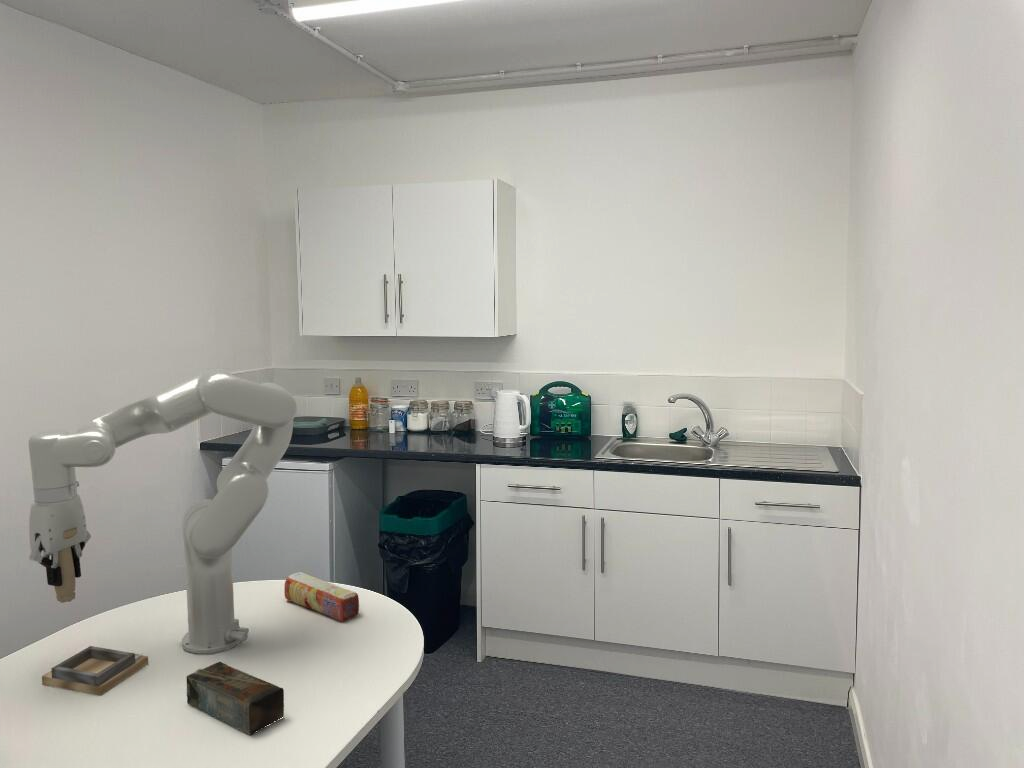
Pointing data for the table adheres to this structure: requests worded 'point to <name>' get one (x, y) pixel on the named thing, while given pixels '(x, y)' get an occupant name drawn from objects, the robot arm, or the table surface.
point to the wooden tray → (94, 670)
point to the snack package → (321, 596)
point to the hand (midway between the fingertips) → (64, 579)
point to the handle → (66, 571)
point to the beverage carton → (235, 697)
